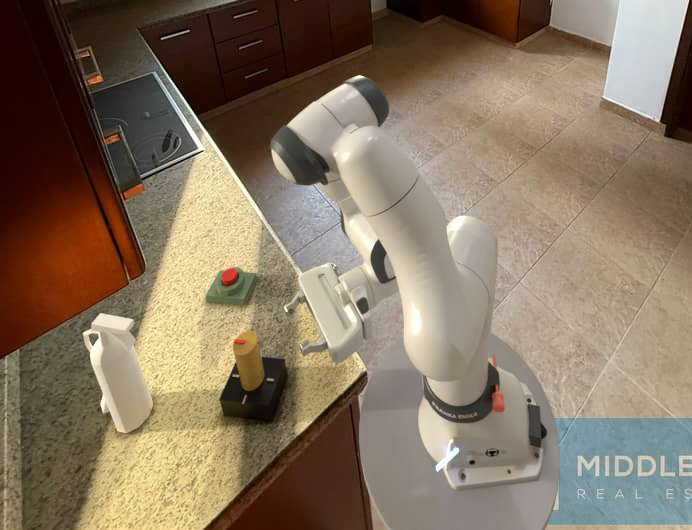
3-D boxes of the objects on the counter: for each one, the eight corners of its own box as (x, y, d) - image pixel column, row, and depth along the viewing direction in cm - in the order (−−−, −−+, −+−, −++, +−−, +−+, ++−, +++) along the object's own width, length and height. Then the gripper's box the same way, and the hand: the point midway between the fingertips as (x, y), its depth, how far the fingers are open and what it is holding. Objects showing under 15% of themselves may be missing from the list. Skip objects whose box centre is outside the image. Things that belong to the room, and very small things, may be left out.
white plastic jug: (118, 386, 89) (84, 298, 81) (169, 396, 87) (140, 306, 79) (90, 426, 83) (51, 334, 75) (145, 438, 80) (111, 345, 73)
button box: (257, 279, 111) (255, 267, 110) (245, 305, 104) (242, 293, 103) (221, 276, 112) (218, 264, 111) (206, 302, 105) (203, 290, 104)
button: (240, 273, 108) (239, 268, 108) (233, 287, 105) (232, 281, 105) (227, 272, 109) (226, 267, 108) (220, 286, 106) (218, 280, 105)
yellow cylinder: (268, 366, 87) (260, 330, 83) (258, 392, 82) (250, 355, 79) (247, 364, 87) (239, 328, 84) (237, 389, 83) (228, 352, 80)
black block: (288, 373, 90) (285, 356, 88) (271, 424, 82) (268, 406, 80) (243, 368, 91) (239, 351, 89) (222, 418, 83) (218, 400, 81)
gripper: (332, 249, 102) (275, 280, 95) (374, 321, 86) (309, 365, 79) (334, 269, 104) (278, 301, 97) (376, 343, 87) (313, 388, 80)
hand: (292, 330), depth 88 cm, fingers open, 8 cm apart
